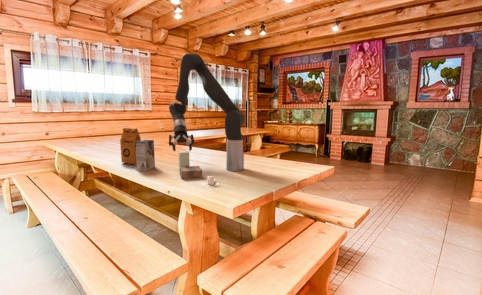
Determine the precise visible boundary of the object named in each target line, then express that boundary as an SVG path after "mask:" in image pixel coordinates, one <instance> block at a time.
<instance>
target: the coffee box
mask: <svg viewBox="0 0 482 295" xmlns="http://www.w3.org/2000/svg"><path fill="white" fill-rule="evenodd" d="M135 146H136V163H137V165H136V171H144V172H145V171H149V170H151V169H153V168H155V167H156V160H155V139H143V140H142V139H141V141H137V142H135Z"/></svg>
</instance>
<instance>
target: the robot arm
mask: <svg viewBox="0 0 482 295" xmlns="http://www.w3.org/2000/svg"><path fill="white" fill-rule="evenodd" d="M191 71H195V72H196V73H197V74H198V76H199V77H200V79H201V83H202V88H203V90H204V92H205V93H206V95H207V96H208V98H209V99H210V100H211V101H212V102H213V103H215V105H217V106H218V107H219V108H221V110H223V111H224V113H225V114H226V115H225V117H224V132H225V133H224V134H225V137H226V157H225V158H226V159H225V160H226V165H225V166H226V168H225V169H226V171H229V172H230V171H231V172H239V171H243V170H244V167H245V155H244V144H243V142H244V136H243V133H242V128H241V127H242V126H243V125H244V124H245V122H246V118H245V115H244V113H243V112H242V111H241V110H240V108H238V107H237V105H236V104H235V103H234V102H233V101H232V100H231V98H230V96H229V95H228V94H227V92H226V91H225V89H224V88H223V86H221V83H219V81H218V80H217V79H216V77H215V76H214V75H213V73H212V72H211V71H210V69H209V68H208V66H207V65H206V63H205V61H204V59H203V58H202V57H201V55H200V54H198V53H193V52H191V53H190V52H188V53H184V54H183V55H182V57H181V62H180V68H179V77H178V78H179V80H178V84H177V90H176V92H175V95H174V96H175V97H174V98H175V100H176V101H177V102H174V101H173V102H171V103H170V104H169V107H168V109H169V113H170V115H171V117H172V121H173V125H172V126H173V135H172V134H169V135H168V145H169V146H171V147H172V151H174V152H176V145H177V144H181V143H182V144H184V143H185V144H186V145H188V150H189V151H191V152H192V150H193V146H194V145H195V137H194V135H193V134H190V135H188V130H187V124H186V123H187V122H186V118H185V114H186V112H187V99H188V97H189V93H190V84H189V82H190V81H189V76H190V72H191ZM172 140H174V141H172ZM189 151H188V152H189Z"/></svg>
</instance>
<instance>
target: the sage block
mask: <svg viewBox="0 0 482 295" xmlns="http://www.w3.org/2000/svg"><path fill="white" fill-rule="evenodd" d="M178 167H179V168H178V169H179V171H178V172H180V167H190V152H189V151H188V150H182V151H181V150H180V151H178Z"/></svg>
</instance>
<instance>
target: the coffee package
mask: <svg viewBox="0 0 482 295" xmlns="http://www.w3.org/2000/svg"><path fill="white" fill-rule="evenodd" d="M122 131H123V132H122V134H121V137H120V140H119V144H120V158H121V163H123V164H129V165H135V166H137V163H136V146H135V142H137V141H142V139H141V136H140V133H139V130H138V128H132V127H131V128H130V127H129V128H128V127H123V128H122Z"/></svg>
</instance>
